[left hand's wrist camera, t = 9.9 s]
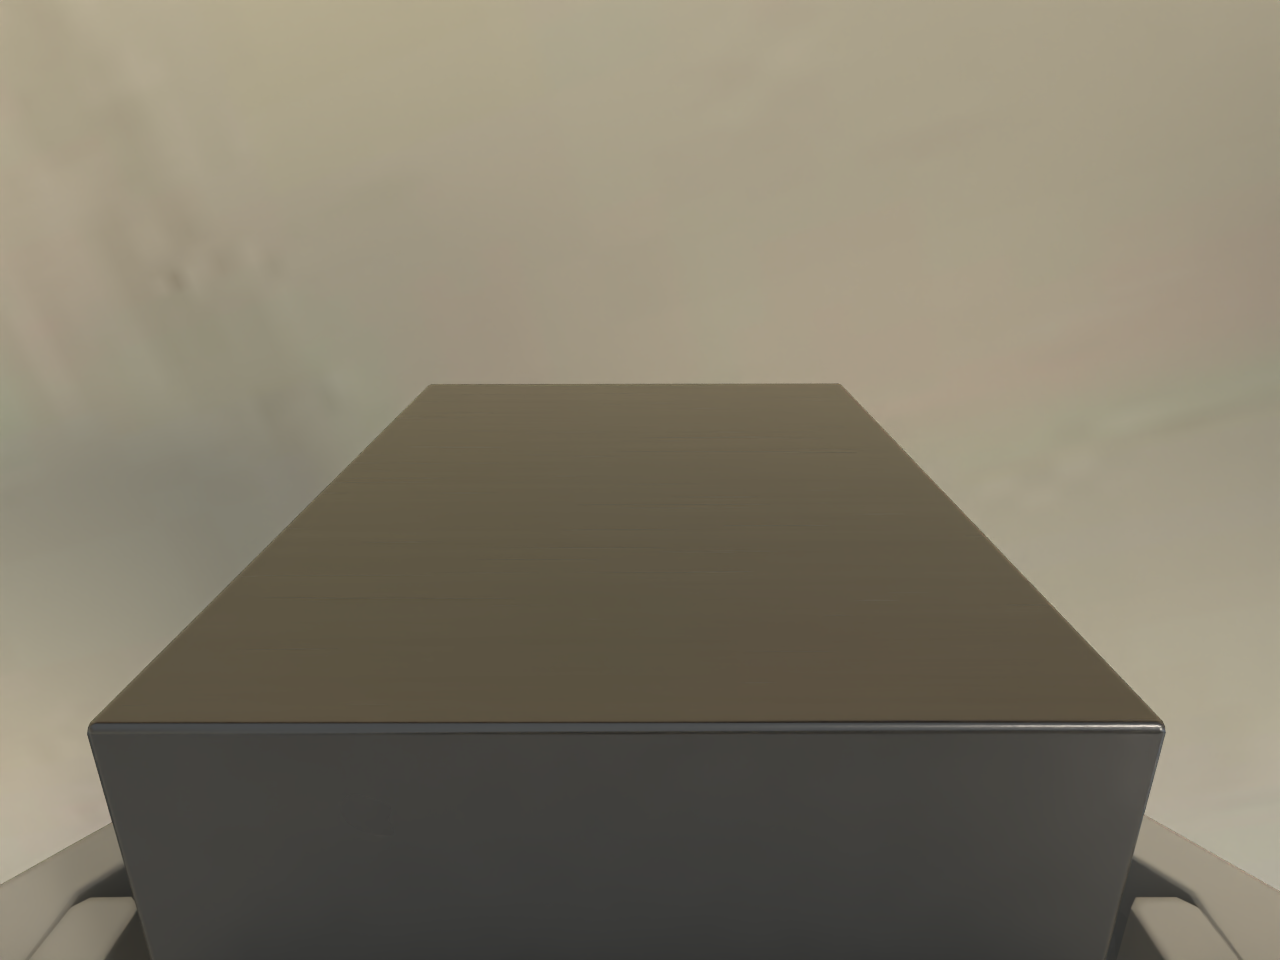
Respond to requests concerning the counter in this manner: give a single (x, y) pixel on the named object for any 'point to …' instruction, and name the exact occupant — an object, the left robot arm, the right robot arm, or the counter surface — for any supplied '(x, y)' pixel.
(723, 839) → the bar
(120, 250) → the counter surface
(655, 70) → the counter surface
